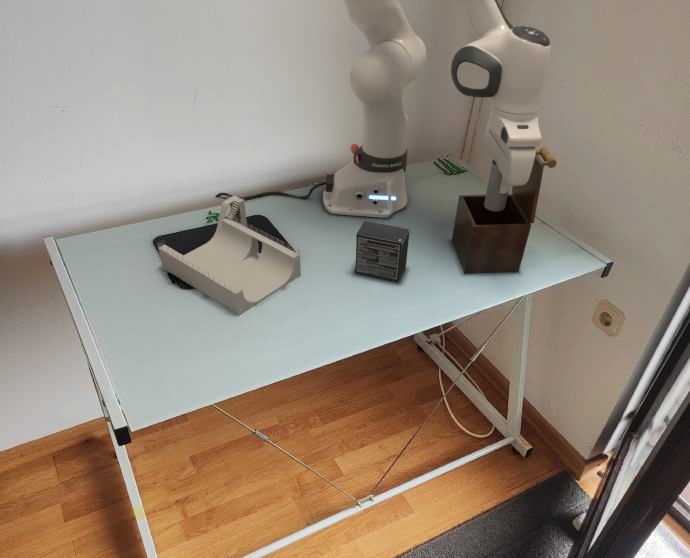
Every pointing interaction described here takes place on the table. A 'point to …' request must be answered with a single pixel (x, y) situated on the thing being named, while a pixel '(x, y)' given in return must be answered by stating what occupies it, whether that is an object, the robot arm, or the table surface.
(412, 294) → the table surface
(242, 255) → the skate ramp
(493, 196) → the grey hollow cylinder
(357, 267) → the small box
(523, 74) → the robot arm
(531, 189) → the box lid
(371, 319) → the table surface
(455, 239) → the storage box
